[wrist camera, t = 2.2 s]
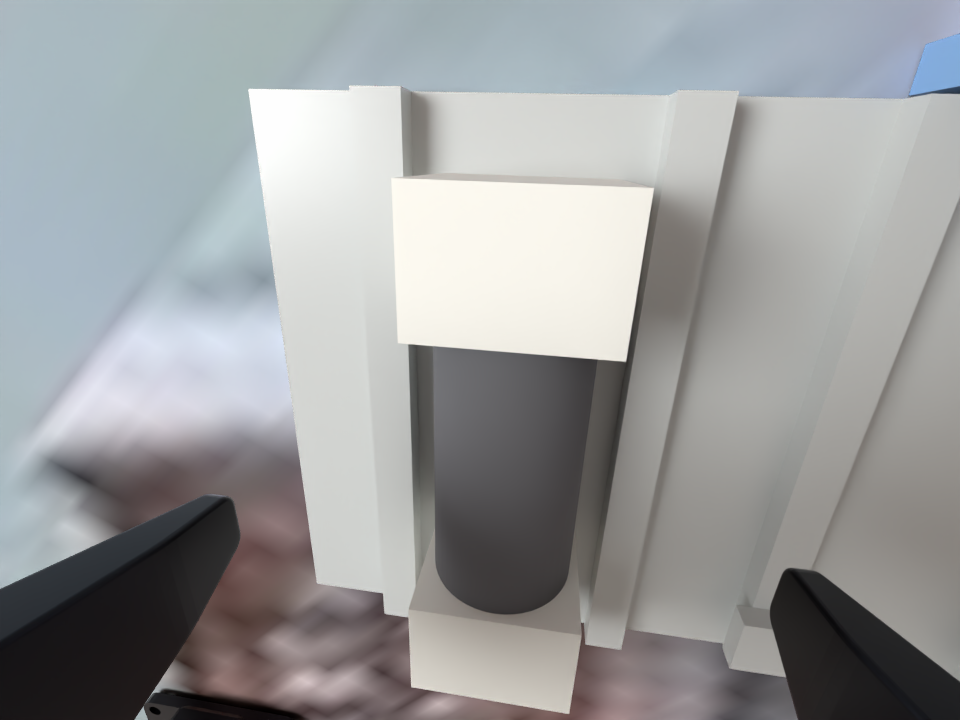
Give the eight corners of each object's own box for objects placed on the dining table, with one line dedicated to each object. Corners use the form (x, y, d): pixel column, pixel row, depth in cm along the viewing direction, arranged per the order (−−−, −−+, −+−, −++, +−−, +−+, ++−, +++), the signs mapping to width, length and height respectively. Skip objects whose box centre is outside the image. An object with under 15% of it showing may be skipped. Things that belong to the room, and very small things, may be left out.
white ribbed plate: (1081, 683, 13) (1246, 846, 10) (322, 573, 16) (265, 674, 13) (1586, 45, 7) (2350, -42, 4) (252, 42, 10) (115, -12, 7)
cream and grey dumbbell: (565, 582, 14) (568, 713, 11) (444, 566, 14) (411, 687, 11) (619, 179, 10) (653, 187, 6) (444, 173, 10) (390, 178, 7)
